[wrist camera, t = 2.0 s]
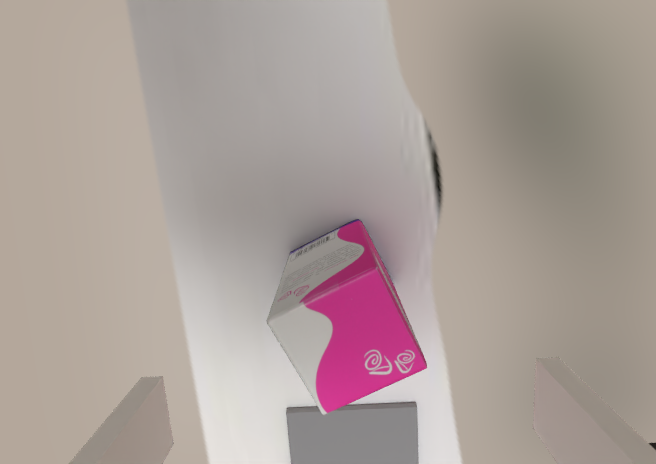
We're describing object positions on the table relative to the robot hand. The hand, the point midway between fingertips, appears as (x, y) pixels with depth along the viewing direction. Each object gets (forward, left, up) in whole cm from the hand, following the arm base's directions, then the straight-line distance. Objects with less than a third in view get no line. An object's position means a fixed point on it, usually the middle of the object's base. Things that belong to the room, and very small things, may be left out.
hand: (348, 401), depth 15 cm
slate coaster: (+16, 0, -16) cm, 22 cm away
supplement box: (0, 0, -16) cm, 16 cm away
